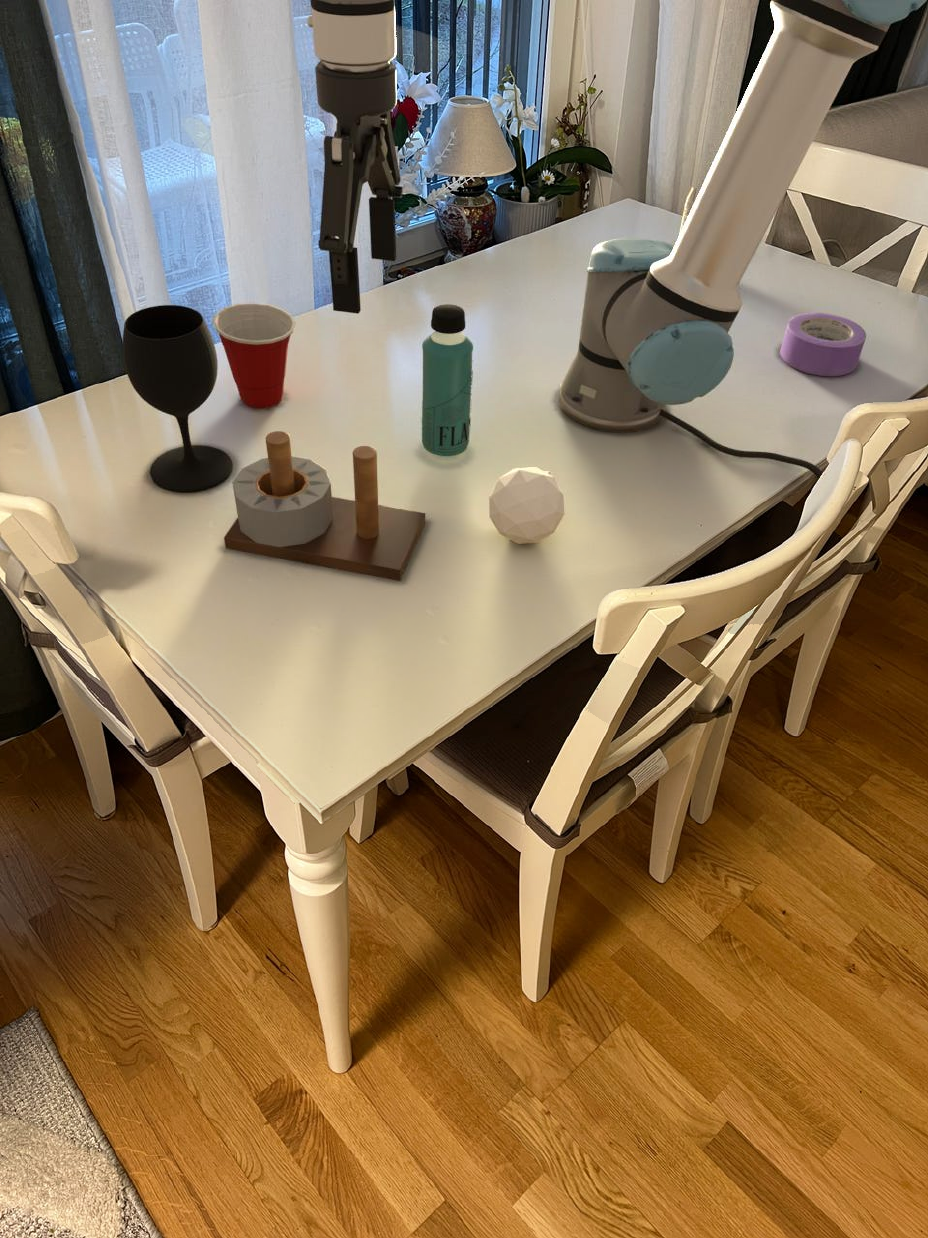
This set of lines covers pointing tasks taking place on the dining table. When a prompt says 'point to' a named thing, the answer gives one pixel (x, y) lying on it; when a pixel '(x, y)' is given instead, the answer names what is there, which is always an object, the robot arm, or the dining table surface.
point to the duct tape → (283, 504)
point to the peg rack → (343, 521)
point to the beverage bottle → (446, 383)
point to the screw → (687, 208)
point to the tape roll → (822, 344)
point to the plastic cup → (256, 350)
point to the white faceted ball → (526, 505)
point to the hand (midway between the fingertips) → (366, 283)
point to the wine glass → (176, 389)
